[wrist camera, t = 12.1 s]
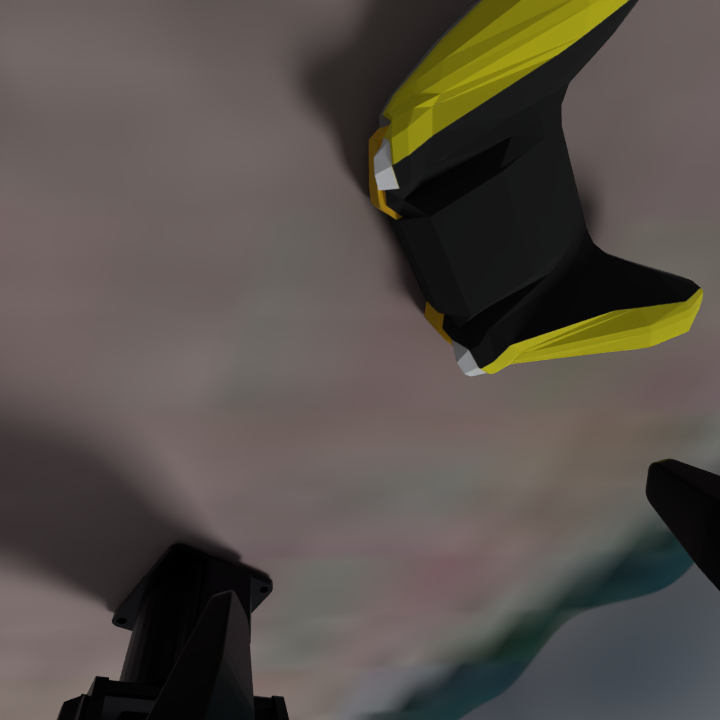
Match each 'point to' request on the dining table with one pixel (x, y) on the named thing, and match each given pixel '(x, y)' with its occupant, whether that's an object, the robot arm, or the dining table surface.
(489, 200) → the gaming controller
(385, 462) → the dining table surface
